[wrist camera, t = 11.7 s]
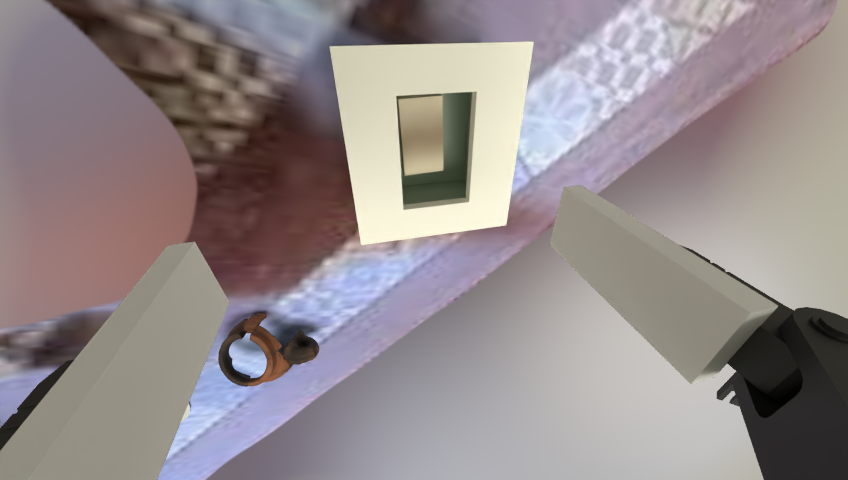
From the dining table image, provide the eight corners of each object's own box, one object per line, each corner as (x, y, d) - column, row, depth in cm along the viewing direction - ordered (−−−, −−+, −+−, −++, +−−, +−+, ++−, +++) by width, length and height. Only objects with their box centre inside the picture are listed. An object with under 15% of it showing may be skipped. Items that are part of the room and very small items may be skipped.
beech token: (392, 93, 30) (398, 99, 26) (431, 90, 30) (442, 95, 27) (398, 162, 33) (405, 175, 30) (433, 158, 34) (443, 170, 31)
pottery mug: (259, 362, 47) (219, 397, 39) (248, 304, 45) (204, 327, 37) (334, 358, 45) (308, 393, 37) (324, 298, 44) (295, 321, 36)
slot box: (333, 45, 27) (329, 46, 19) (480, 42, 29) (533, 41, 21) (357, 198, 35) (361, 245, 27) (470, 186, 38) (506, 225, 29)
